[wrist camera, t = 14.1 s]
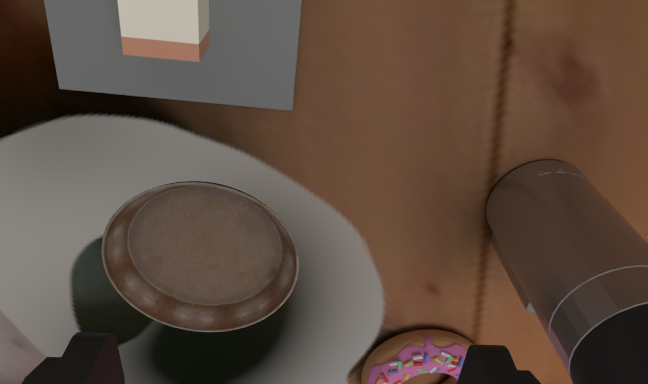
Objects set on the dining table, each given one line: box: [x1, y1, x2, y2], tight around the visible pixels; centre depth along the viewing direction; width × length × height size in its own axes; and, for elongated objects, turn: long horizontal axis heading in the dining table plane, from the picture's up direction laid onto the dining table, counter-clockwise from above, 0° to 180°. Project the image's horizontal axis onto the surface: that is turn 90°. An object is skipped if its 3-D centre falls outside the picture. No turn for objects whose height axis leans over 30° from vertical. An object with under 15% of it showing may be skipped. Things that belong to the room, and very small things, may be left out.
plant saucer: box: [102, 181, 299, 332], centre depth 46 cm, size 18×18×3 cm
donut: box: [361, 329, 474, 384], centre depth 55 cm, size 14×14×5 cm
